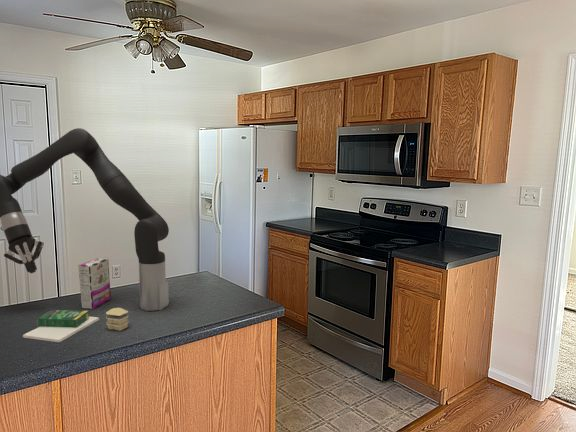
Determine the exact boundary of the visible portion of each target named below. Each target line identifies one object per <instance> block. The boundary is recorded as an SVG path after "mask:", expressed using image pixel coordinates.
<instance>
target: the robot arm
mask: <svg viewBox="0 0 576 432" xmlns="http://www.w3.org/2000/svg"><path fill="white" fill-rule="evenodd" d="M72 154H74V155H75V156H77V157H78V158H79V159H80V160H81V161H82V162H83V163H85V165H86V166H87V167H88V168H89V169H90V170H91V171H92V173H93V174H94V176H95V179H96V180H97V182H98V185H99V186H100V187H101V189H102V190H103V191H104V192H105V194H106V195H107V196H108V198H109V199H110V200H111V201H112V202H113V203H115V204H116V205H117V206H119V207H121V208H122V209H124V210H126V211H127V212H129V213H130V214H132V215H133V216H134V217H135V218H136V219H137V220H138V221H137V223H135V226H134V231H133V232H134V234H133V235H134V245H135V254H136V256H137V258H138V281H139V282H138V284H139V303H140V306H139V308H140V310H143V311H149V312H150V311H162V310H163V309H165V308H166V307H167V306H169V304H170V303H169V302H170V301H169V297H170V296H169V281H168V279H167V278H166V276H167V275H166V255H165V253H164V252H163V251H160V248H159V242H160V241H161V242H162V241H163V240H165V239H167V237H168V235H169V231H170V228H169V225H168V223H167V221H166V219H164V218H163V217H162V216H161V214H159V212H158V211H156V210H155V209H154V208H153V207H152V206H151V205H150V204H149V203H148V202H147V200H146V199H145V198H144V197H143V196H142V195H141V193H140V192H139V191H138V190H137V189H136V188H135V186H134V185H133V183H132V182H131V181H130V180H129V178H128V177H127V176H126V175H125V174H124V173H123V172H122V171H121V170H120V169H119V167H117V166H116V165H115V164H114V163H113V162H112V161H111V160H110V159H109V157H107V155H106V154H105V152H104V151H103V150H102V147H101V146H100V144H99V143H98V141H97V140H96V138H95V137H94V136H93V135H92V134H91V133H89V131H88V130H86V129H84V128H79V127H78V128H74V129H70V130H69V131H67V132H66V133H65V134H64V135H62V136H60V137H59V139H56V140H55V141H54V142H53V143H51V144H49V146H47V147H46V148H44V149H43V150H41V151H39V152H38V153H36V154H35V155H32V156H31V157H29V158H27V159H25V160H23V161H22V162H19V163H17V164H16V165H14V166H12V168H11V169H10V172H11V173H9V174H8V175H5V176H4V175H2V174H0V224H1V228H2V231H3V233H4V235H5V239H6V240H7V243H8V250H7V252H6V253H4V255H3V257H4V258H6V259H8V260H9V261H12V262H15V263H16V264H19V265H24V268H25V270H26V272H27V273H30V274H33V273H34V274H35V273H36V272H37V270H38V268H37V264H36V260H37V259H39V258H40V255H41V253H42V249H43V248H44V245H45V244H44V241H43V242H42V241H38V240H36V238H34V237H33V234H32V231H31V230H30V229H31V228H30V226H29V224H28V221H27V219H26V216H25V215H24V213H23V211H22V208H21V205H20V203H19V201H18V200H17V199H16V198H14V197H13V194H16V193H17V192H18V191H19V190H20V189H21V188H23V187H24V186H25V185H26V184H27V183H29V182H32V181H34V180H35V179H37V178H39V177H41V176H43V175H44V174H45V173H47V172H48V171H49V170H50V169H51V168H52V167H53V166H54V165H55V164H56V163H57V162H58V161H59V160H61V159H62V158H65V157H67V156H70V155H72ZM34 248H35V250H34ZM33 250H34V252H33ZM14 255H17V256H19V257H20V259H19V258H17V257H15V256H14Z"/></svg>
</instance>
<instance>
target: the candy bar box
mask: <svg viewBox="0 0 576 432" xmlns="http://www.w3.org/2000/svg"><path fill="white" fill-rule="evenodd" d="M78 273H79V274H78V277H79V287H80V289H79V290H80V301H81V303H80V304H81V308H82V309H86V310H93V309H94V310H95V309H96V308H97V307H98V308H99V306H101V305H103V304H105V303H106V302H108V301H110V300H111V299H112V297H111V282H110V281H111V280H110V266H109V257H108V258H106V257H96V258H94V259H91V260H88V261H85V262H84V263H81V264H78Z"/></svg>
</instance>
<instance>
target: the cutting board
mask: <svg viewBox="0 0 576 432" xmlns="http://www.w3.org/2000/svg"><path fill="white" fill-rule="evenodd" d="M98 321H100V317H97V316H90V315H89V318H88V319H87V320H85V321H84V322H83V323H82V324H80V325H79V326H78V327H56V326H37V327H36V328H35V329H32V330H30V331H28V332H26V333H23V335H22V338H25V339H31V340H37V341H45V342H52V343H61V342H62V341H65V340H66V339H68V338H70V337H71V336H73V335H76V334H77V333H79V332H81V331H82V330H84V329H85V328H87V327H89V326H91V325H93V324H94V323H96V322H98Z"/></svg>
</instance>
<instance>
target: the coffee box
mask: <svg viewBox="0 0 576 432" xmlns="http://www.w3.org/2000/svg"><path fill="white" fill-rule="evenodd" d="M89 314H90V312H89V310H74V309H73V310H69V309H67V310H66V309H65V310H64V309H60V310H59V309H51V310H49V311H47V312H46V313H44V314H42V315H40V316H39V317H37V318H36V325H37V327H40V326H56V327H78V326H79V325H80V324H82V323H83V322H84V321H85V320H87V319H88V318H89V316H90V315H89Z"/></svg>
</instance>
